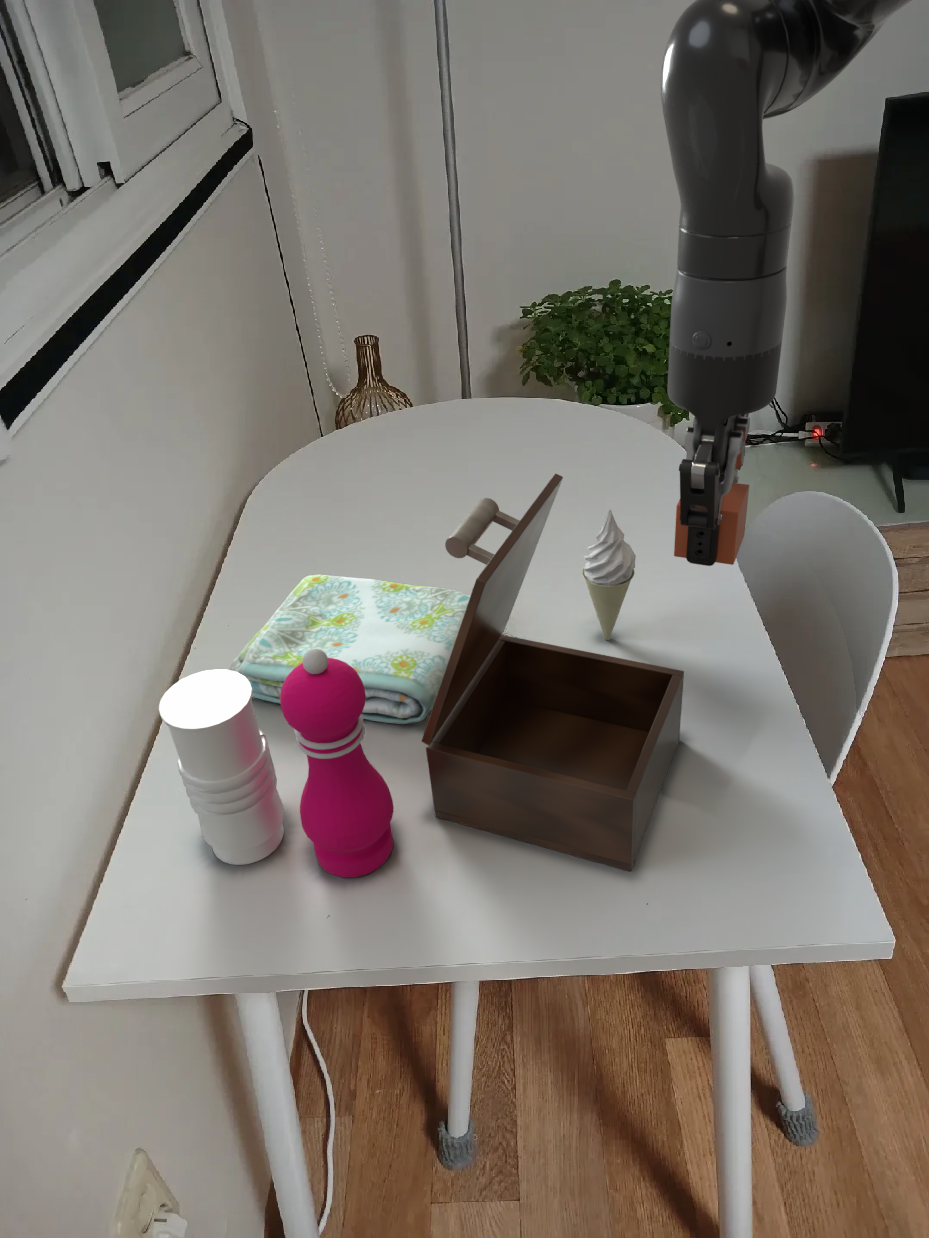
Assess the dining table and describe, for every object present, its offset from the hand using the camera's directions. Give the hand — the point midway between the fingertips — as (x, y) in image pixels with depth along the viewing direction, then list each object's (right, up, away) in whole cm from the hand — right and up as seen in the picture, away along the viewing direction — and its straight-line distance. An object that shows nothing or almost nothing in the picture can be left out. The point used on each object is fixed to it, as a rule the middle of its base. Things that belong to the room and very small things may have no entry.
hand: (708, 544), depth 75 cm
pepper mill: (-28, -25, +2) cm, 37 cm away
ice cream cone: (-5, -8, +22) cm, 23 cm away
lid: (-17, -5, -1) cm, 18 cm away
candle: (-37, -24, +4) cm, 44 cm away
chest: (-11, -19, +6) cm, 23 cm away
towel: (-29, -10, +22) cm, 38 cm away
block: (0, 0, 0) cm, 0 cm away
